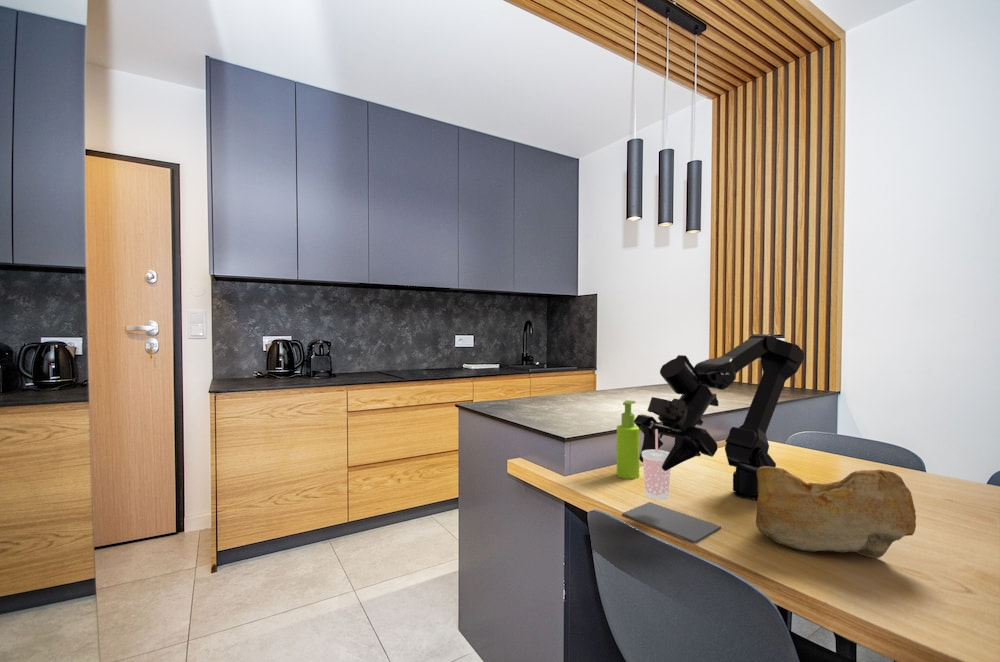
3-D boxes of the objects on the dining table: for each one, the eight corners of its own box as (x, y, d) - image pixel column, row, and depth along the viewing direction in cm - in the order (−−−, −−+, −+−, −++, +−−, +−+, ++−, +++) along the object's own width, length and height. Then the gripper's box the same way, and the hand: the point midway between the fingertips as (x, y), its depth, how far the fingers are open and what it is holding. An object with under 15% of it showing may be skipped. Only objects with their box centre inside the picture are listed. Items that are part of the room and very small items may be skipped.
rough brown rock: (890, 540, 85) (884, 460, 86) (928, 575, 70) (921, 477, 71) (750, 521, 94) (747, 450, 96) (758, 549, 80) (754, 464, 81)
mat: (721, 528, 87) (721, 526, 87) (695, 543, 81) (695, 541, 81) (649, 503, 100) (649, 501, 100) (622, 514, 94) (622, 513, 94)
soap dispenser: (642, 473, 122) (642, 400, 122) (635, 480, 116) (635, 404, 116) (621, 469, 125) (621, 398, 125) (613, 476, 119) (613, 402, 119)
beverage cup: (649, 488, 98) (649, 425, 98) (677, 495, 93) (677, 429, 93) (636, 496, 93) (636, 429, 93) (664, 503, 89) (664, 434, 89)
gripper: (639, 379, 103) (601, 431, 99) (706, 388, 86) (664, 452, 82) (665, 410, 107) (629, 462, 102) (734, 425, 90) (695, 488, 85)
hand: (651, 465), depth 93 cm, fingers closed on beverage cup, 6 cm apart
